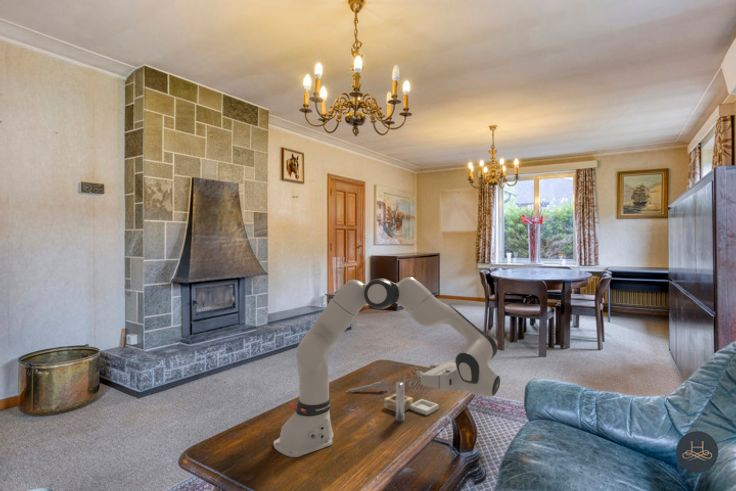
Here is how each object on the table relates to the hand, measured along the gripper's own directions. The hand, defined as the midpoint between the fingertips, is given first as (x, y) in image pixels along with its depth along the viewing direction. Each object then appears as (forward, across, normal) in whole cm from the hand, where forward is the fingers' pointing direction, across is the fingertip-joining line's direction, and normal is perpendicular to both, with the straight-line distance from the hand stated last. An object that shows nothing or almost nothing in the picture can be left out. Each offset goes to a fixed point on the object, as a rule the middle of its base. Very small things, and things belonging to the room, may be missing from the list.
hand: (424, 369), depth 154 cm
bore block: (+20, -8, +23) cm, 31 cm away
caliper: (+43, -13, +23) cm, 50 cm away
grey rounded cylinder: (+12, +1, +23) cm, 26 cm away
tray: (+10, -14, +23) cm, 29 cm away
